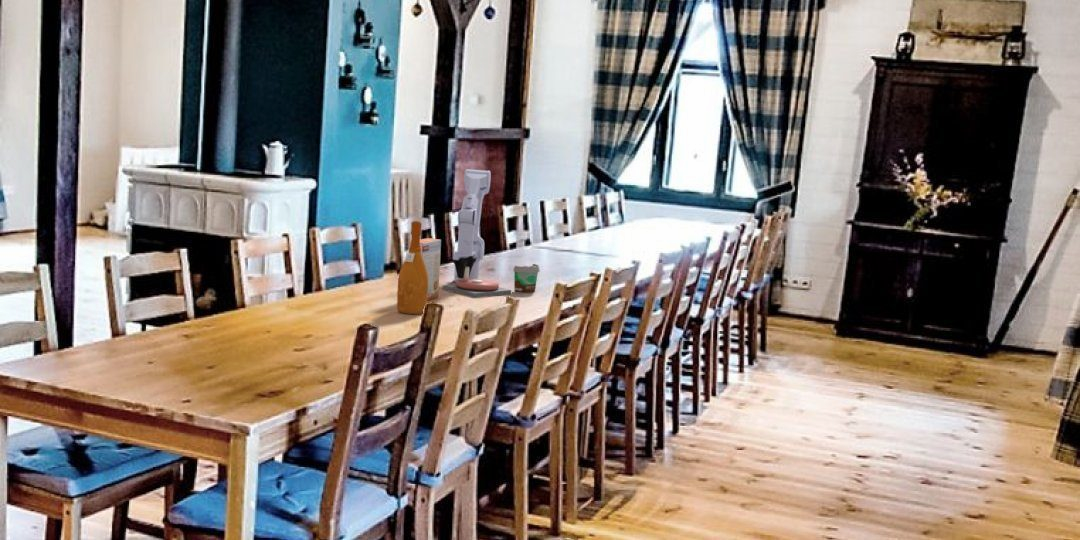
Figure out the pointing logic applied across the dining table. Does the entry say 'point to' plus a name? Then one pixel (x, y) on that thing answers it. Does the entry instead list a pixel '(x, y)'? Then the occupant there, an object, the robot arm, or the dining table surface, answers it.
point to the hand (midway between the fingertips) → (463, 277)
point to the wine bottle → (413, 277)
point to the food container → (525, 278)
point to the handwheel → (475, 283)
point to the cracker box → (431, 264)
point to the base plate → (476, 291)
